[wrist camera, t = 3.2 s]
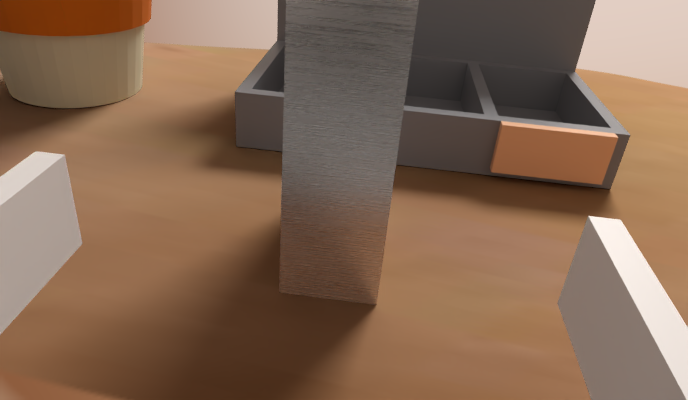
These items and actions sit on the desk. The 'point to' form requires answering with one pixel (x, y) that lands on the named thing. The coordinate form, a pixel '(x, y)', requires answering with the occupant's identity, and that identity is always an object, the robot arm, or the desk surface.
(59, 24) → the reusable coffee cup
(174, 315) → the desk surface
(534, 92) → the rack
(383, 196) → the brushed metal block
